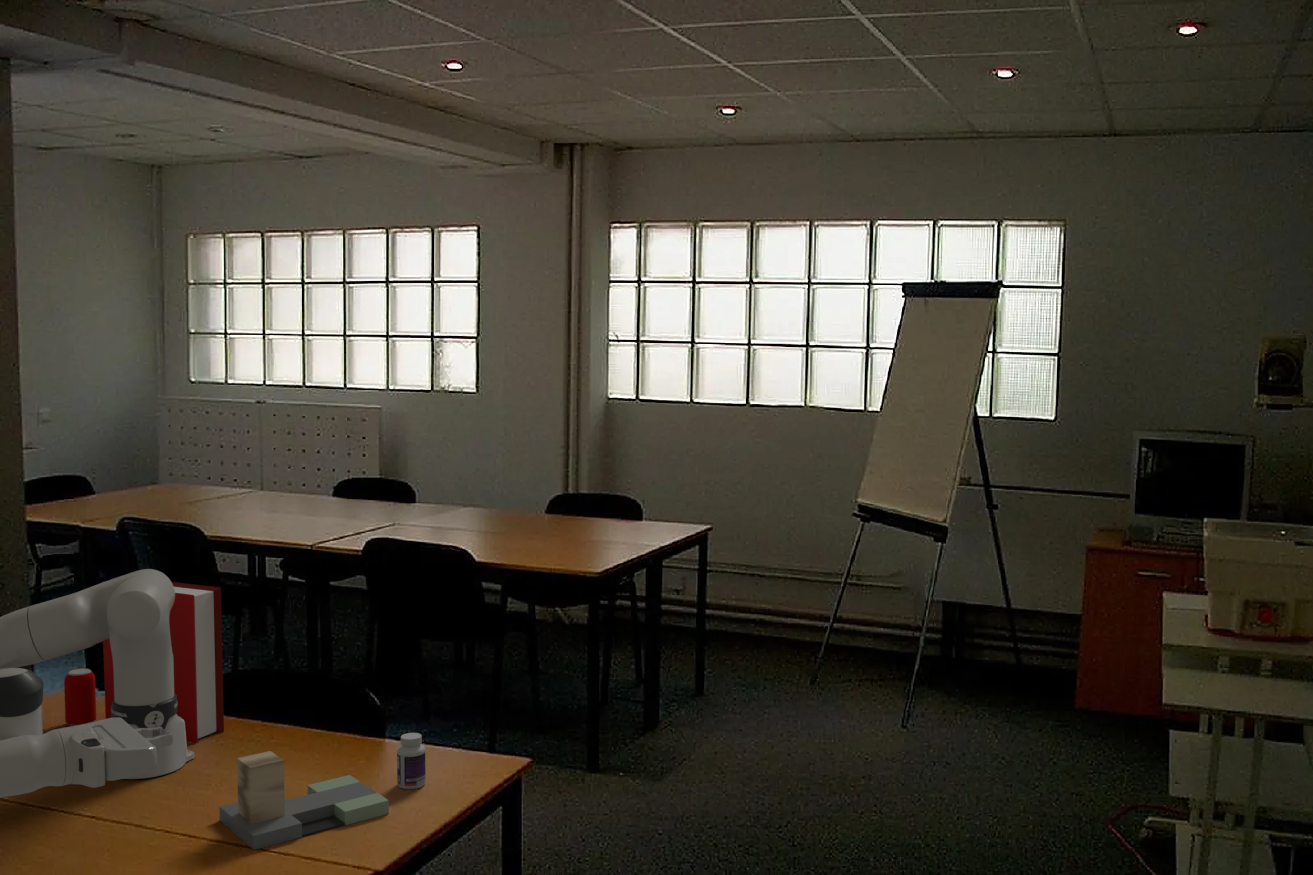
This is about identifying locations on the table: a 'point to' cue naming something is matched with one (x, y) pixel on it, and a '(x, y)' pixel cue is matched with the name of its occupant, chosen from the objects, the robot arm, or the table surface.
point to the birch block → (260, 787)
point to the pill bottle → (411, 762)
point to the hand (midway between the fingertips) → (167, 735)
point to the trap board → (310, 812)
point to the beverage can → (80, 697)
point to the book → (190, 660)
